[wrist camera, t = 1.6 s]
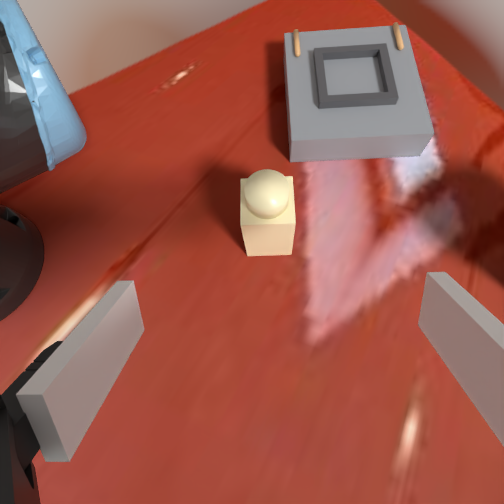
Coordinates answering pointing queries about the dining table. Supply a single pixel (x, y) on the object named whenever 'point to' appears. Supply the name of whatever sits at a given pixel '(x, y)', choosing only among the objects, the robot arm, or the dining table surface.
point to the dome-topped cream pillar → (267, 213)
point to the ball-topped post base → (354, 95)
